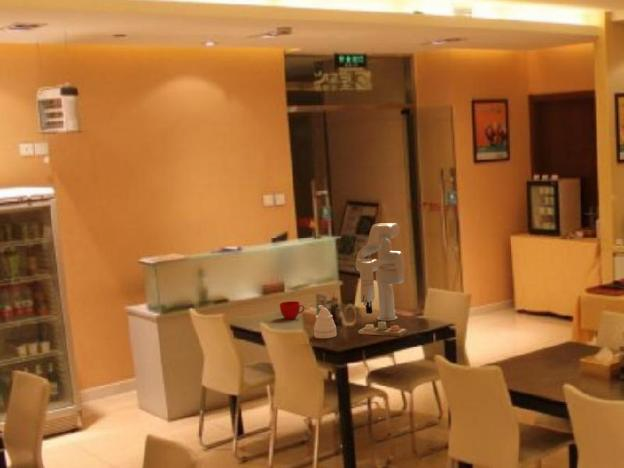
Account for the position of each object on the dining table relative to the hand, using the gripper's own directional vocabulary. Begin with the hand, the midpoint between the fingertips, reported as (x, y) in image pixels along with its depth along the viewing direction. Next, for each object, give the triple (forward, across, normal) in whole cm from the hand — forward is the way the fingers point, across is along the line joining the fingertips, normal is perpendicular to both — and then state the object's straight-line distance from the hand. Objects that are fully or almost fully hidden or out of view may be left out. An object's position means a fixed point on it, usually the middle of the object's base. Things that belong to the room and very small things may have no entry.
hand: (369, 313), depth 506 cm
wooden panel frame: (+11, +1, +8) cm, 14 cm away
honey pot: (+11, +15, -22) cm, 29 cm away
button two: (+9, +1, +8) cm, 12 cm away
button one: (+11, +1, 0) cm, 11 cm away
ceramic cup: (+13, -26, -68) cm, 74 cm away
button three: (+11, +1, +16) cm, 19 cm away
